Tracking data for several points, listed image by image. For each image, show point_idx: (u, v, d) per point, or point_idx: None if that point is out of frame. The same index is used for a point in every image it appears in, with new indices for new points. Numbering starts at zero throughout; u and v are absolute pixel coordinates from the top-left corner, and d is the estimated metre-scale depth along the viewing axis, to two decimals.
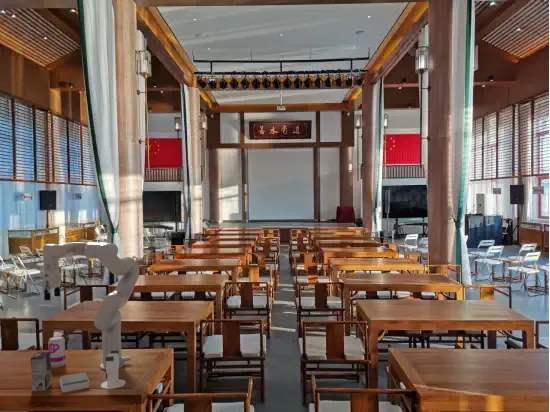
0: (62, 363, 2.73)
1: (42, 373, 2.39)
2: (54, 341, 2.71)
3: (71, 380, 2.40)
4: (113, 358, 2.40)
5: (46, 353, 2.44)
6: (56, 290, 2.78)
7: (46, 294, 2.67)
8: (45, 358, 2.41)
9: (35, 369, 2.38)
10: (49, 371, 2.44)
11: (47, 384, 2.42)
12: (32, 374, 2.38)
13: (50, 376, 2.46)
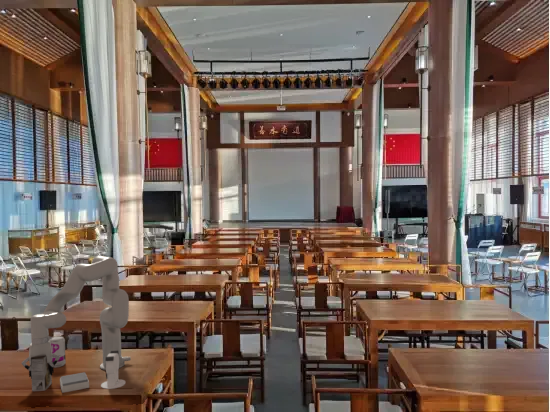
0: (62, 363, 2.73)
1: (42, 373, 2.39)
2: (54, 341, 2.71)
3: (71, 380, 2.40)
4: (113, 358, 2.40)
5: None
6: None
7: None
8: (45, 358, 2.41)
9: (35, 369, 2.38)
10: (49, 371, 2.44)
11: (47, 384, 2.42)
12: (32, 374, 2.38)
13: (50, 375, 2.46)
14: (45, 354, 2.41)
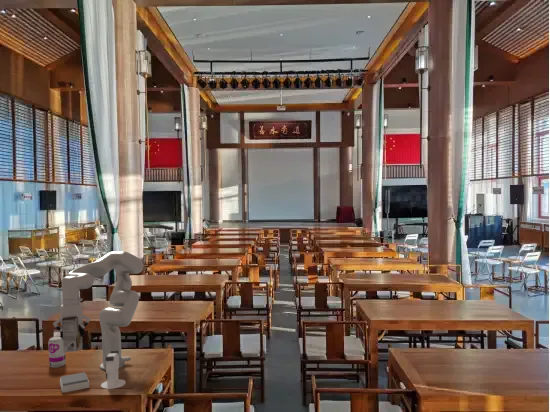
0: (62, 363, 2.73)
1: (73, 333, 2.39)
2: (54, 341, 2.71)
3: (71, 380, 2.40)
4: (113, 358, 2.40)
5: None
6: None
7: None
8: (76, 319, 2.41)
9: (66, 330, 2.38)
10: (79, 332, 2.44)
11: (78, 345, 2.42)
12: (64, 335, 2.38)
13: (80, 337, 2.46)
14: (76, 315, 2.42)
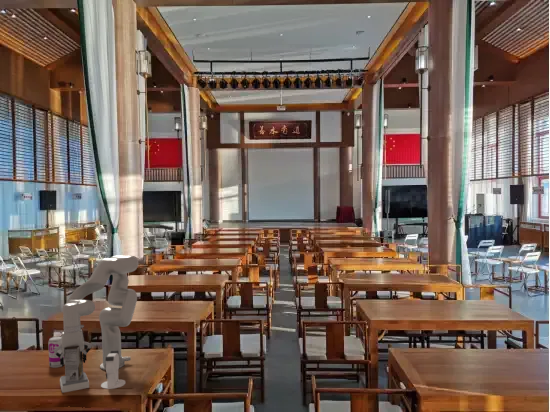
0: None
1: (75, 363, 2.39)
2: (54, 341, 2.71)
3: None
4: (113, 358, 2.40)
5: None
6: None
7: None
8: (78, 348, 2.41)
9: (69, 359, 2.39)
10: (81, 361, 2.45)
11: (80, 374, 2.42)
12: (66, 364, 2.39)
13: (82, 366, 2.46)
14: (77, 342, 2.42)
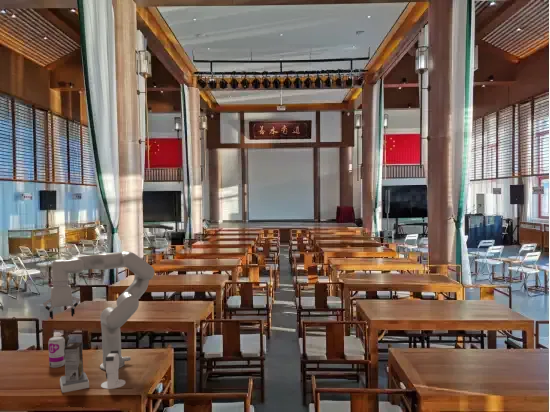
0: (62, 363, 2.73)
1: (75, 363, 2.39)
2: (54, 341, 2.71)
3: None
4: (113, 358, 2.40)
5: (79, 343, 2.45)
6: (52, 312, 2.55)
7: None
8: (78, 348, 2.41)
9: (69, 359, 2.39)
10: (81, 361, 2.45)
11: (80, 374, 2.42)
12: (66, 364, 2.39)
13: (82, 366, 2.46)
14: (66, 297, 2.56)
